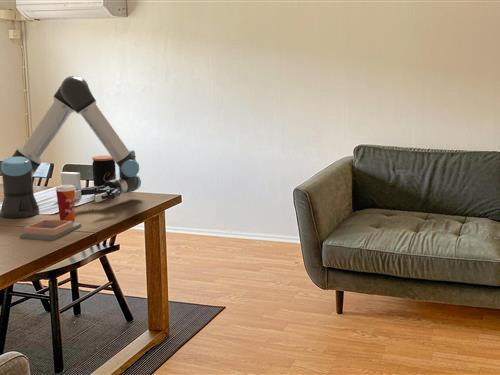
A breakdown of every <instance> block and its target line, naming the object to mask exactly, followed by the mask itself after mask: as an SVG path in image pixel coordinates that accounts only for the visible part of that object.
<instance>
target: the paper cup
mask: <svg viewBox="0 0 500 375" xmlns="http://www.w3.org/2000/svg"><path fill="white" fill-rule="evenodd" d="M55 192H56V199H57V208H58V215H59V220H64V221H73V222H74V221H75V218H76V216H75V214H76V213H75V212H76V210H75V208H76V206H75V205H76V204H75V202H76V200H75V188H74V185H61V184H60V185H56V187H55Z"/></svg>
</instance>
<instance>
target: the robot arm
mask: <svg viewBox="0 0 500 375" xmlns="http://www.w3.org/2000/svg"><path fill="white" fill-rule="evenodd" d="M74 113H76V114H77V115H81V117H82V118H83V119H84V121H85V122H86V124H87V125H88V126H89V128H90V129H91V130H92V132H93V133H94V135H95V136H96V137H97V139H98V140H99V141H100V143H101V144H102V146H103V147H104V149H105V150H106V151H107V153H108V154H109V156H111V157H112V158H113V159H114V161H115V165H117V167H118V171H119V173H118V174H119V177H116V179H113V180H110V181H107V182H105V184H104V185H103V186H100V187H97V186H94V185H93V186H87V187H81V188H80V189H76V191H75V198H77V197H80V196H81V195H82V196H89V195H90V196H91V195H94V203H98V202H102V201H104V200H107V199H108V200H110V199H112V200H115V199H116V198H117V197H120V196H122V195H124V194H129V193H133V192H134V191H136V190H139V188H140V187H141V186H142V180H141V178H140V176H139V175H138V174H139V172H140V164H139V162H137V160H136V152H135V150H133V149H128V148H127V146H126V145H125V143H124V142H123V140H122V139H121V138H120V137H119V134H118V133H117V132H116V130H114V128H113V126H112V125H111V123H110V122H109V121H108V119H107V118H106V116H105V115H104V113H102V111H101V110H100V108H99V107H98V105H97V100H96V98H95V97H94V95H93V93H92V91H91V88H90V87H89V84H88V82H87V81H86V80H85V79H84V78H82V77H80V76H78V75H69V76H67V77H66V78H65V79H64V80H63V81H62V82H61V84H60V86H59V87H58V88H57V91H56V92H55V93H54V95H53V103H52V104H51V106H50V107H49V108H48V110H47V111H46V113H45V115H44V116H43V117H42V119H41V120H40V122H39V123H38V124H37V126H36V128H35V129H34V130H33V132H32V133H31V135H30V136H29V137H28V139H27V141H26V142H25V143H24V145H23V146H22V147H18V148H17V149H16V150H15V151H14V153H13V154H12V156H11V157H8V158H4V159H3V160H2V161H1V163H0V164H1V166H0V170H1V175H2V176H1V178H2V187H3V200H2V205H1V208H0V216H1V218H5V219H6V218H7V219H23V218H27V217H33V216H36V215H38V214H40V206H39V205H38V202H37V200H36V197H35V194H34V182H33V181H34V180H33V176H34V175H35V173H36V172H37V170H38V169H39V167H40V166H41V165H42V159H41V158H42V157H43V156H44V153H46V151H47V149H48V148H49V147H50V145H51V143H52V142H53V141H54V139H55V138H56V136H57V135H58V134H59V132H60V130H61V129H62V127H63V126H64V124H65V123H66V122H67V120H68V119H69V117H70V116H71V114H74ZM97 191H98V193H97Z"/></svg>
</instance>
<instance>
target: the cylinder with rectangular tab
mask: <svg viewBox="0 0 500 375" xmlns="http://www.w3.org/2000/svg"><path fill="white" fill-rule="evenodd" d="M60 185H74V188H75V191H76V189H80V188H82V183H81V172H73V171H72V172H69V171H63V172H62V171H61V172H60ZM82 196H83V195H81V196H80V197H77V198H75V199H77V200H80V198H81V199H82V198H83V197H82Z"/></svg>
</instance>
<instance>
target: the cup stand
mask: <svg viewBox="0 0 500 375" xmlns="http://www.w3.org/2000/svg"><path fill="white" fill-rule="evenodd" d="M81 227H82V223H81V222H74V221H64V220H60V219H50V218H49V219H48V218H47V219H46V218H44V219H41V220H38V221H36V222H34V223H31V224H29V225H26V226H24V227H23V233H21V234H20V235H19V238H20V239H27V240H28V239H29V240H38V239H39V240H40V241H41V240H42V241H51V242H52V241H54V240H57V239H58V238H60V237H62V236H64V235H66V234H69V233H70V232H72V231H75V230H77V229H79V228H81Z"/></svg>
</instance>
